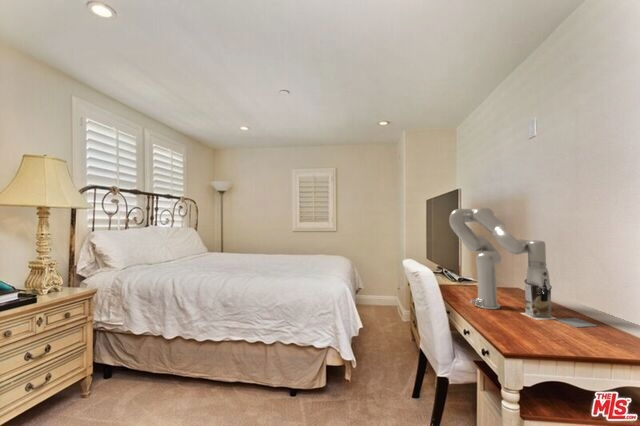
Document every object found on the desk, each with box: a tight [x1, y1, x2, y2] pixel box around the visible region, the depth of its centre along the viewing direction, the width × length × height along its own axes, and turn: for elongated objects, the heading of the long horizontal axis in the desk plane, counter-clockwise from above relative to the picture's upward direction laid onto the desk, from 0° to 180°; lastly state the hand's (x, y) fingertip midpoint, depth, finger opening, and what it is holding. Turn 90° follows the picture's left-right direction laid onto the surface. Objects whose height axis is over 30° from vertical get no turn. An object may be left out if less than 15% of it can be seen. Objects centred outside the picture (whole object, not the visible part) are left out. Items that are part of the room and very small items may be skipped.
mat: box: [555, 317, 599, 329], centre depth 147 cm, size 11×11×1 cm
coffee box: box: [524, 282, 552, 318], centre depth 158 cm, size 9×6×16 cm
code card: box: [520, 312, 558, 321], centre depth 158 cm, size 11×11×1 cm
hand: (537, 298), depth 158 cm, fingers closed on coffee box, 7 cm apart
